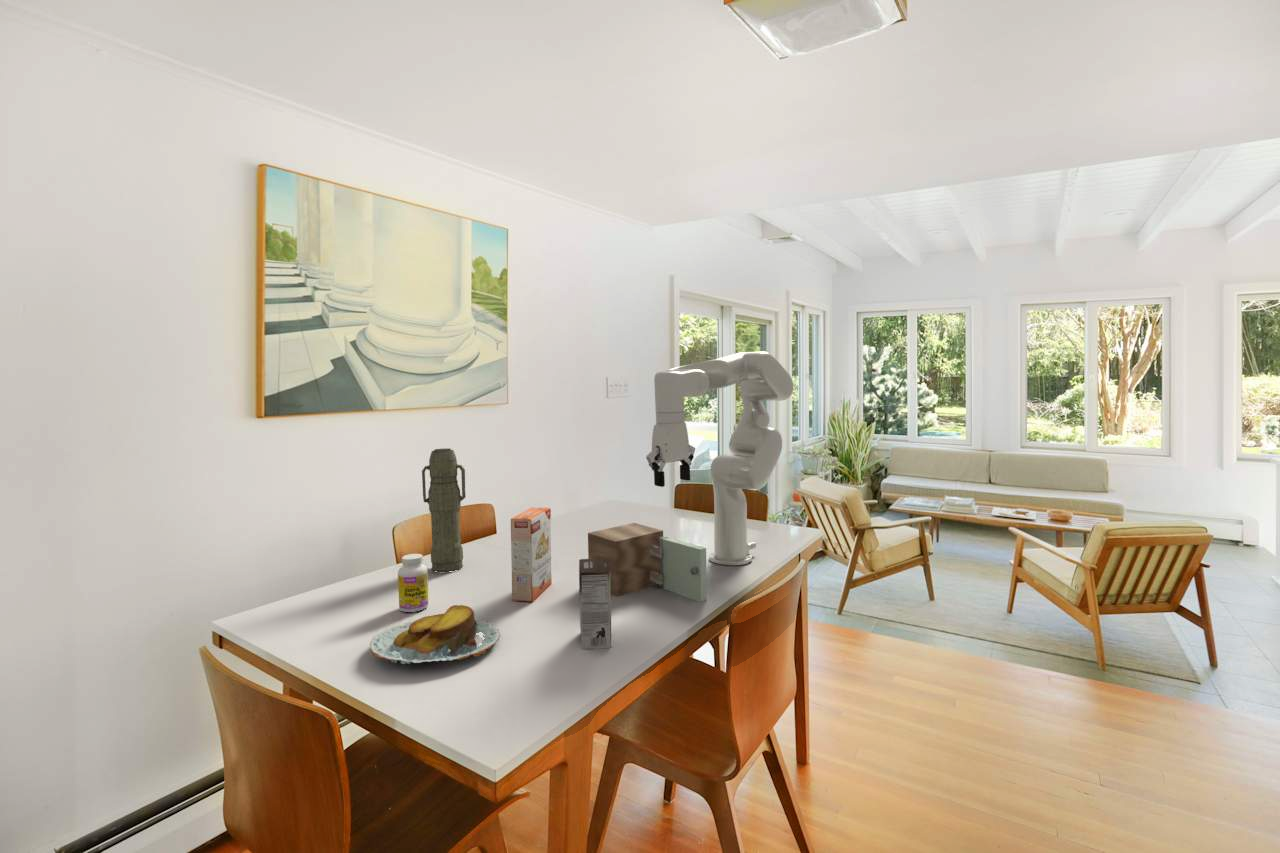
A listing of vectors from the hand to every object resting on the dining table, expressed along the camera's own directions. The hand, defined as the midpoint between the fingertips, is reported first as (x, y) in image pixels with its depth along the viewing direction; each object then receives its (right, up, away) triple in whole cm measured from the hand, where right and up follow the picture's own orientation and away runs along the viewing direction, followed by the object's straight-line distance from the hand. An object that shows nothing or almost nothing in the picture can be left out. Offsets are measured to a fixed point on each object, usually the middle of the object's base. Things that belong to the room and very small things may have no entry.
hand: (672, 482), depth 162 cm
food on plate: (-50, -31, -36) cm, 69 cm away
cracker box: (-36, -28, -4) cm, 46 cm away
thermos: (-65, -27, +17) cm, 72 cm away
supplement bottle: (-63, -29, -14) cm, 71 cm away
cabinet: (-11, -27, 0) cm, 29 cm away
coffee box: (-18, -30, -33) cm, 48 cm away
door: (+2, -27, -7) cm, 28 cm away
